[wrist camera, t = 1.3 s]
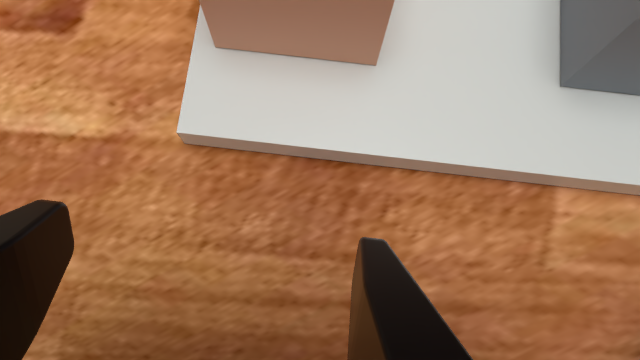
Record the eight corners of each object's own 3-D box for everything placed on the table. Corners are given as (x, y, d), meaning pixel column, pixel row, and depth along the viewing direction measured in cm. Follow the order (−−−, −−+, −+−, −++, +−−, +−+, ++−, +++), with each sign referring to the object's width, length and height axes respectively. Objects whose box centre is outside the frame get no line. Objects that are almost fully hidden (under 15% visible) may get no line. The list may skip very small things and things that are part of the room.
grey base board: (1002, -15, 26) (1042, -34, 25) (1061, 243, 23) (1111, 239, 22) (229, -102, 26) (224, -126, 25) (184, 143, 23) (176, 132, 22)
